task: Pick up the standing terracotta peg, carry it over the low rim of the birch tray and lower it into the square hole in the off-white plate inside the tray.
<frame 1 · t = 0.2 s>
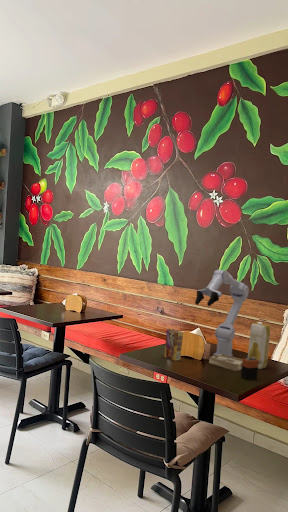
hand: (202, 304, 221), 31 cm above the table, tool tilted 45°, fingers open, 7 cm apart
battery: (248, 378, 202), on the table
tray: (228, 365, 221), on the table
candy box: (172, 358, 225), on the table
peg: (205, 358, 233), on the table
juice carton: (256, 367, 225), on the table
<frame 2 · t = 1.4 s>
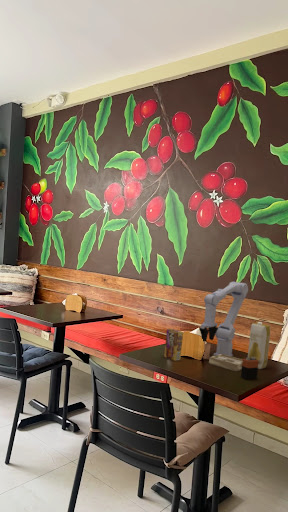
hand: (207, 340, 232), 10 cm above the table, tool pointing down, fingers open, 7 cm apart
nothing on the table moved.
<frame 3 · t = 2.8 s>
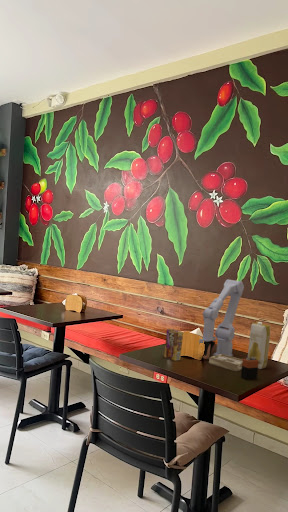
hand: (206, 354, 232), 2 cm above the table, tool pointing down, fingers closed on peg, 4 cm apart
peg: (205, 358, 233), on the table, touching gripper
everything else where it was.
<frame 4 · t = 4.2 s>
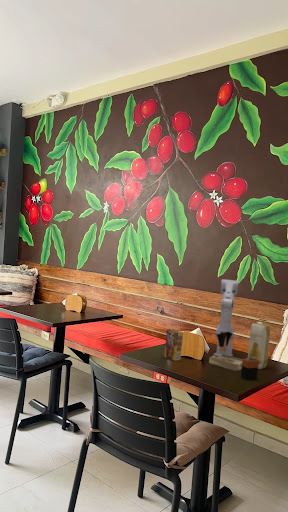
hand: (223, 346, 224), 9 cm above the table, tool pointing down, fingers closed on peg, 4 cm apart
peg: (222, 350, 225), point 7 cm above the table, touching gripper
everything else where it was.
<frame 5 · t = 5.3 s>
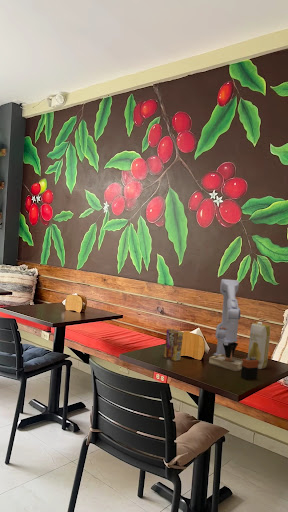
hand: (229, 356, 221), 5 cm above the table, tool pointing down, fingers closed on peg, 4 cm apart
peg: (228, 361, 221), point 2 cm above the table, touching gripper
everything else where it was.
when the fingers open (4 cm above the table, at t = 5.9 s): peg stays where it is, resting on tray.
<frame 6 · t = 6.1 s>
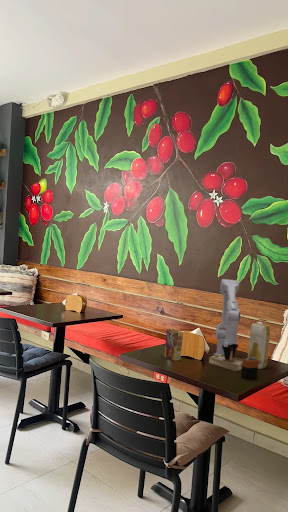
hand: (229, 358, 221), 4 cm above the table, tool pointing down, fingers open, 5 cm apart
peg: (228, 364, 222), point 1 cm above the table, touching tray
everything else where it was.
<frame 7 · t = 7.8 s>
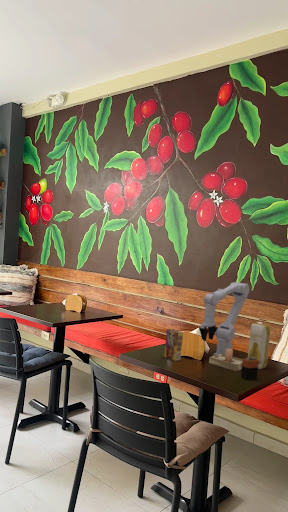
hand: (207, 340, 233), 10 cm above the table, tool pointing down, fingers open, 7 cm apart
nothing on the table moved.
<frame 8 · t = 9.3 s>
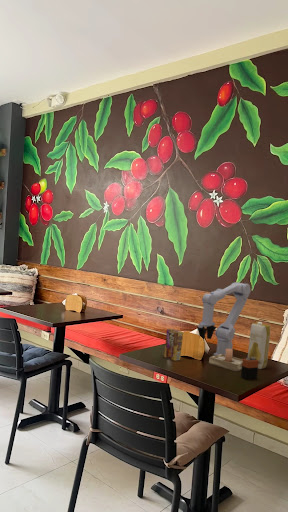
hand: (205, 339, 234), 10 cm above the table, tool pointing down, fingers open, 7 cm apart
nothing on the table moved.
at the end: peg 0.2 cm off-centre on the tray, point 0.6 cm above the tray's base; peg tilted 1°; the gripper is holding nothing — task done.
